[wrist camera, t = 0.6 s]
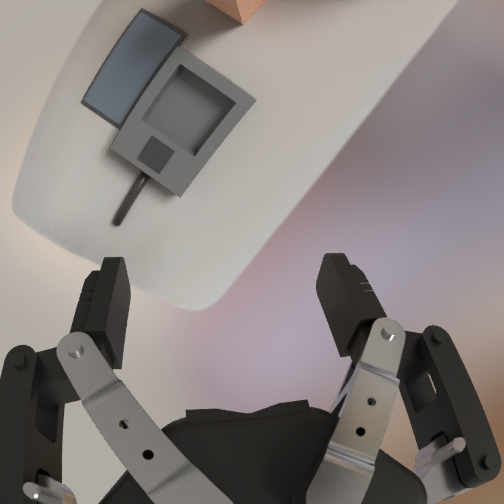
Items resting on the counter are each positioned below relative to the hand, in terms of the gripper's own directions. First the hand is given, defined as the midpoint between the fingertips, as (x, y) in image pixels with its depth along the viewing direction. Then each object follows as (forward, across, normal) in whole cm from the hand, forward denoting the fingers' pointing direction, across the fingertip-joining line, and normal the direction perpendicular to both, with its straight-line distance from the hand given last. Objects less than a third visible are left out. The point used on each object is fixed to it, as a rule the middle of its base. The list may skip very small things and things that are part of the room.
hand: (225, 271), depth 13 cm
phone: (+25, +8, -5) cm, 27 cm away
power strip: (+23, +5, +4) cm, 23 cm away
